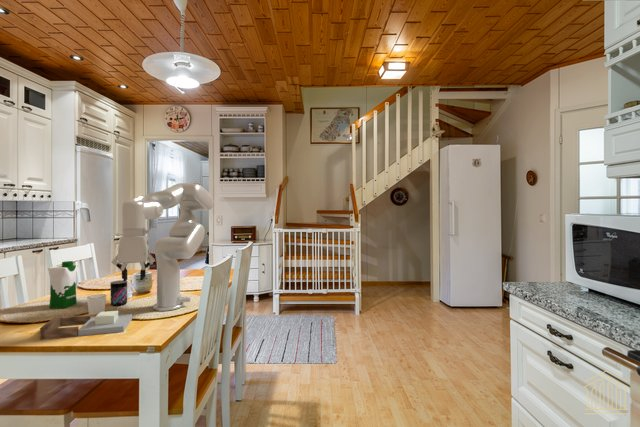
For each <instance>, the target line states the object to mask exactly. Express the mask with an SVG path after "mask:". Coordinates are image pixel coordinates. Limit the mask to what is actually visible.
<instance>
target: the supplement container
mask: <svg viewBox="0 0 640 427" xmlns="http://www.w3.org/2000/svg"><path fill="white" fill-rule="evenodd" d="M126 304H128V280H126V281H123V279H120V280H113V281H111V282H110V306H112V307H121V305H122V306H125V305H126Z"/></svg>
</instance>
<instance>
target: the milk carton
mask: <svg viewBox="0 0 640 427" xmlns="http://www.w3.org/2000/svg"><path fill="white" fill-rule="evenodd" d="M78 266H79V265H78V264H74V261H73V260H69V261H67V260H66V261H62V262H61V264H60V265H55V266H51V267H47V271H48V274H49V278H50V279H49V283H50V284H49V288H50V294H49V296H50V297H49V306H48V307H49V309H67V308H69V307H72V306H74V305H77V304H78V303H77V302H78V300H77V271H78Z"/></svg>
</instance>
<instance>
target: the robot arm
mask: <svg viewBox="0 0 640 427" xmlns="http://www.w3.org/2000/svg"><path fill="white" fill-rule="evenodd" d="M178 205H179V212H180V213H179V217H178V219H177V220H176V221H175V222H174V224H173V225H172V227H171V228H170V230H169V232H168V236H165V237H164V236H163V237H161V238H158V239H157V240H156V241H155V243H154V247H153V248H154V249H153V250H154V255H155V257H154V256H153V255H152V254H151V253H150V246H149V244H150V243H149V238H148V236H147V234H149V233H150V229H146V220H156V219H158V218H160V217H162V215H163V214H164V210H168V209H169V210H170V209H173V208H174V207H176V206H178ZM214 205H215V201H214V198H213V196H212V194H211V193H210V192H208V191H207V190H206V188H204V187H203V186H202V185H201V184H199V183H196V182H195V183H193V182H183V183H182V182H179V183H175V184H174V185H172V186H170V187H167V188H165V189H163V190H159V191H155V192H154V191H153V192H152V193H147V194H142V195H139V196H137V197H135V198H132V199H130V200H126V201H124V202H122V206H121V207H122V208H121V210H122V212H121V214H122V218H121V220H122V222H121V223H122V230H121V231H122V232H121V234H122V236H121V237H120V239H119V243H118V250H117V251H118V252H117V255H116V256H115V257H114V258H113V259H112V260H111V264H113V265H114V266H116V267H117V268H118V269H119V270H120V271H121V280H123V281H128V269H127V266H128V264H137V263H138V264H139V265H140V268H141V270H140V272H139V273H140V275H139V276H140V281H142V282H143V280H144V279H146V274H147V273H146V272H147V271H146V269H147V268H148V267H150V265H152V264H153V263H154V262H155V261H156V303H155V304H153V306H152V309H153V310H154V311H160V312H165V311H166V312H167V311H168V312H169V311H173V310H178V309H181V308H182V307H184V303H190V302H191V297H188V296H185V297H183V296H182V294H181V277H180V276H181V267H180V263H179V261H178V260H189V259H191V258H192V257H193V256H194V255H195V254H196V252H197V251H198V249H199V247H200V246H201V244H202V242H203V241H204V239H205V233H206V230H205V227H204V225H203V224H201V223H199V222H198V220H197V217H196V215H195V214H194V212H193V211H199V212H200V211H201V212H203V211H205V212H206V211H210V210H212V209H213V207H214ZM177 259H178V260H177ZM148 260H149V261H148ZM147 261H148V262H147Z"/></svg>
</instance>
